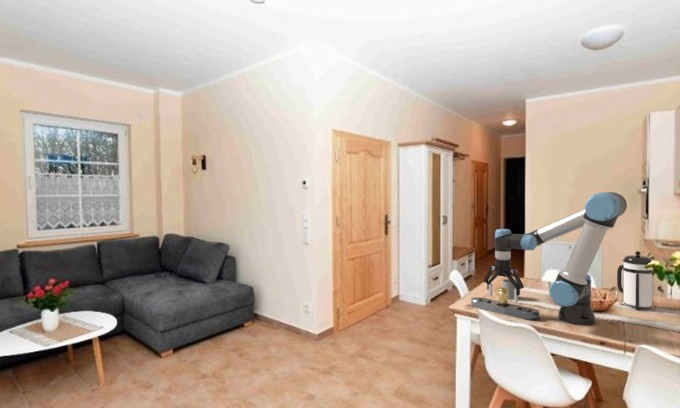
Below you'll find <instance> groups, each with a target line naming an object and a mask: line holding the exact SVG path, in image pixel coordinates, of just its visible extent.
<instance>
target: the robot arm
mask: <svg viewBox="0 0 680 408" xmlns="http://www.w3.org/2000/svg"><path fill="white" fill-rule="evenodd" d="M627 202H628V201H627V200H626V199H625V196H623V195H621V194H620V193H618V192H614V191H612V192H610V191H609V192H607V191H606V192H605V191H604V192H603V191H602V192H598V193H595V194H593V195H591V196H590V197H588V199H587V200H586V201H585V204H584V208H582V209H580V210H577V211H575V212H573V213H570V214H568V215H566V216H564V217H562V218H559V219H558V220H556V221H553V222H551V223H549V224H547V225H545V226H542V227H540V228H538V229H535V230H533V231H531V232H527V233H523V234H517V233H512V231H511V230H510V229H508V228H498V229H496V230H495V233H494V257H495V260H494V263H495V266H493V265H491V266H489V267H488V272H487V274H486V275H485V277H484V279H483V283H485V284H486V289H487V290H488V297H493V295H494V294H493V283H492V282H494V280H495V279H496V278H497V277H503V278H507V279H509V280H510V281H511V283H512V284H513V285H514V287H515V288H516V289H514V300H513V301H514V302H515V303H517V302H519V296H520V295H521V289H524V288H525V285H524V284H523V282H522V279H521V278H520V275H519V273H518V269H517V268H515V269H512V267H511V266H512V260H511V258H512V256H511V253H512V252H511V251H512V249H513V250H515V249H516V250H524V251H534V250H535V249H536V248H537V247H539V246H541V245H543V244H546V243H547V242H549V241H551V240H554V239H557V238H559V237H562V236H564V235H566V234H569V233H571V232H574V231H576V230H578V229H580V228H581V230H580V233H579V235H578V237H577V239H576V241H575V244H574V246H573V249H572V251H571V253H570V255H569V257H568V260H567V263H566V265H565V267H564V269H562V270H560V271H558V274H557V276H556V278H555V280H554V282H552V283H551V284H550V286H549V288H548V294H549V296H550V298H551V300H552V301H553V302H555V304H557V305H560V308H559V310H558V319H559V320H561V321H563V322H566V323H570V324H573V325H583V326H587V325H588V326H589V325H594V324H596V316H595V314H594V309H593V308H592V278H591V274H588V273H589V271H590V268H591V266H592V264H593V261H594V260H595V258H596V255H597V254H598V251H599V249H600V247H601V244H602V242H603V240H604V238H605V235H606V234H607V231H608V230H610V229H613V228H614V227H615V224H616V222H617V220H618V218H619V217H620V216H622V215H623V214H625V212H626V210H627V208H628V207H627V206H628V203H627ZM493 271H495V273H494V274H493ZM511 273H512V274H511ZM492 274H493V275H492ZM515 280H516V281H517V282H516V281H515Z"/></svg>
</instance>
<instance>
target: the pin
mask: <svg viewBox="0 0 680 408" xmlns="http://www.w3.org/2000/svg"><path fill="white" fill-rule="evenodd" d="M507 291H508V289H507V288H503V287H498V301H499V306H503V307H507V303H508V299H507Z"/></svg>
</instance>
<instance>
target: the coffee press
mask: <svg viewBox="0 0 680 408" xmlns="http://www.w3.org/2000/svg"><path fill="white" fill-rule="evenodd" d="M651 261H653V259H652V258H650V257H648V256H646V255H641V252H640V251H638V250H637V251H635V252H634V254H631V255H630V254H628V255H626V256H624V258H623V259H622V263H623V264H620V265H619V266H618V268H617V271H616V272H617V273H616V275H617V276H616V277H617V278H616V286H617V289H618V290H619V292H620V293H622V300H620V302H619V305H621V306H623V305H625V304H626V305H629V306H632V307H635V311H638V310H640V308H651V309H652V310H653V309H657V307H656V305H655V304H654V303H653V299H654V274H653V275H651V274H652V269H651V268H648V269H646V268H644V267H645V266H646V265H647V264H648V263H650V262H651ZM622 273H623V278H622ZM622 302H624V303H622ZM652 306H653V307H652Z"/></svg>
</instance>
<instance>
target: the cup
mask: <svg viewBox="0 0 680 408" xmlns="http://www.w3.org/2000/svg"><path fill="white" fill-rule="evenodd" d="M514 280H515V281H516V279H514ZM516 282H517V281H516ZM502 288H507V289H508V291H507V300H510V301H511V300H512V301H514V289H516V288H515V287H514V285H513V284H512V283H511V281H510V280H509V279H508V278H507V279H503V280H502Z"/></svg>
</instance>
